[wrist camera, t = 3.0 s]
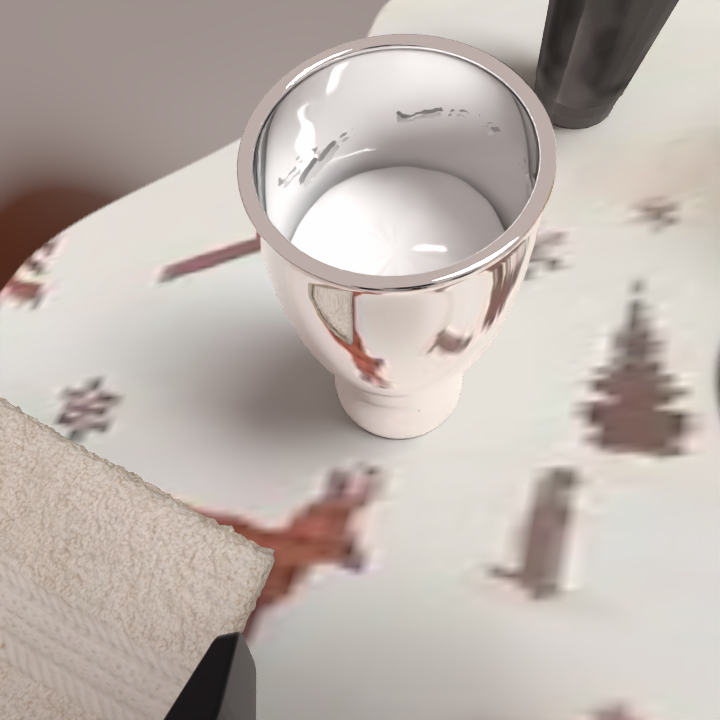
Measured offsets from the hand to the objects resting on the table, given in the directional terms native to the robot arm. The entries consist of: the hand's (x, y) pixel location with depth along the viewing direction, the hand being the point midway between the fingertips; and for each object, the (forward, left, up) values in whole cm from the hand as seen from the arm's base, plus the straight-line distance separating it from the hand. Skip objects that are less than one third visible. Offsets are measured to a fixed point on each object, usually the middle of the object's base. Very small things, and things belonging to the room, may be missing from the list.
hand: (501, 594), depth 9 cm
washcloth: (-15, +9, -14) cm, 22 cm away
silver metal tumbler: (+3, +8, -14) cm, 16 cm away
